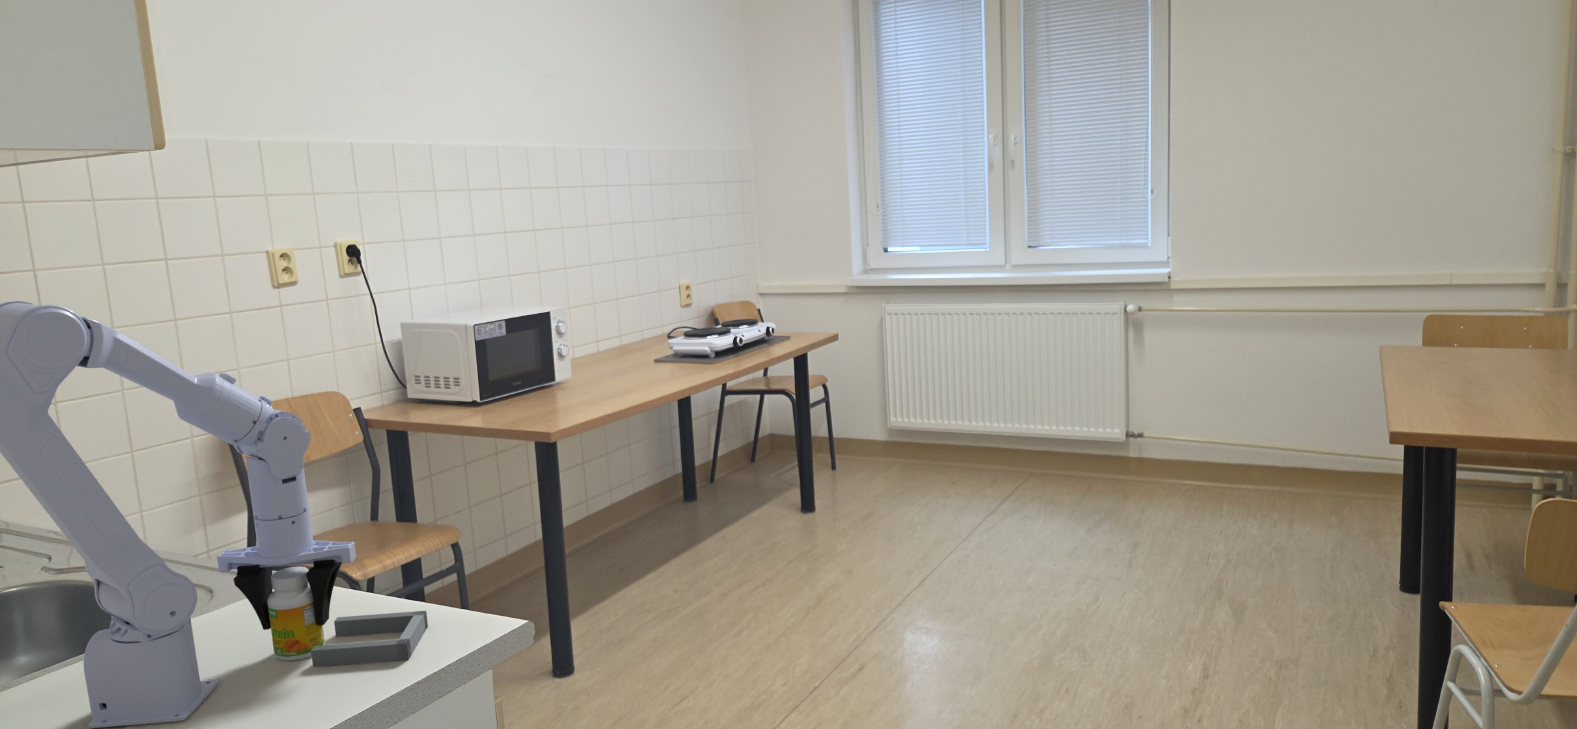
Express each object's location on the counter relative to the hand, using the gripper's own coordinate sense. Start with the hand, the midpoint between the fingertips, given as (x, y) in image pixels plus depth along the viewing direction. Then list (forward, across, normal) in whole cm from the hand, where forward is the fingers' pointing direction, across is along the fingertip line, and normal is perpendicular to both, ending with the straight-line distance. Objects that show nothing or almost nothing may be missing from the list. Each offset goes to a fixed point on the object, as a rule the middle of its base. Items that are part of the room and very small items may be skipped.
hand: (296, 624), depth 120 cm
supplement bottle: (+4, 0, 0) cm, 4 cm away
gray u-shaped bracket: (+3, -9, 0) cm, 10 cm away
